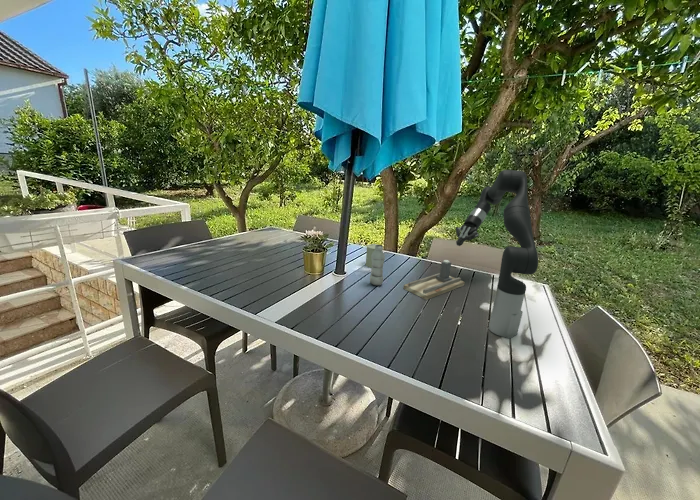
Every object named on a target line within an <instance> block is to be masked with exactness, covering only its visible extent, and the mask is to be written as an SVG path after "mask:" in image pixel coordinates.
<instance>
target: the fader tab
mask: <svg viewBox="0 0 700 500" xmlns="http://www.w3.org/2000/svg"><path fill="white" fill-rule="evenodd" d="M440 263H441V264H440V269H439V273H440V275H439V276H436V279H437V280H440V281H442V282H447V281H450V280H452V278H450V277H449V276H450V272H451V267H452V262H450V260H448V259H444V260H443V261H441V262H440Z"/></svg>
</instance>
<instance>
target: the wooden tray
mask: <svg viewBox="0 0 700 500" xmlns="http://www.w3.org/2000/svg"><path fill="white" fill-rule="evenodd" d="M439 275H440V272H439V273H436V274H432V275H429V276H426V277H423V278H419V279H417V280H414V281H413V280H412V281H411V282H410V281H409V282H408V283H406V284H403V287H402V288H403V290H405V291H407V292H409V293H411V294H413V295H415V296H418V297H420V298H422V299H424V300H426V301H427V300H429V299H432V298H435V297H437V296H438V297H439V296H440V295H443V294H446V293H448V292H450V291H453V290H455V289H459V288H462V287H464V286H465V283H466V282H465V281H463V280H462V278H461V277H459V276H458V277H454V276H451V275H449V277H450V278H452V280H450V281H447V282H442V281H440V280H437V279H436V276H439Z"/></svg>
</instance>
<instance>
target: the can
mask: <svg viewBox="0 0 700 500" xmlns="http://www.w3.org/2000/svg"><path fill="white" fill-rule="evenodd" d="M375 245H379V244H376V243H371V244H370V243H368V244H367V245H366V253H365V255H366V256H365V266H366V267H368V268H370V269H372V259H371V255H372V253H373V252H374V251H375Z"/></svg>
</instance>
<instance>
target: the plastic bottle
mask: <svg viewBox="0 0 700 500" xmlns="http://www.w3.org/2000/svg"><path fill="white" fill-rule="evenodd" d="M383 250H384V246H383V245H382V244H378V245H375V251H374V252H373V253H372V255H371V259H372V268H371V271H370V275H369V276H370V277H369V284H371V285H373V286H381V285H382V284H383V282H384V263H385V258H386V255H385V253H384V252H383Z"/></svg>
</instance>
